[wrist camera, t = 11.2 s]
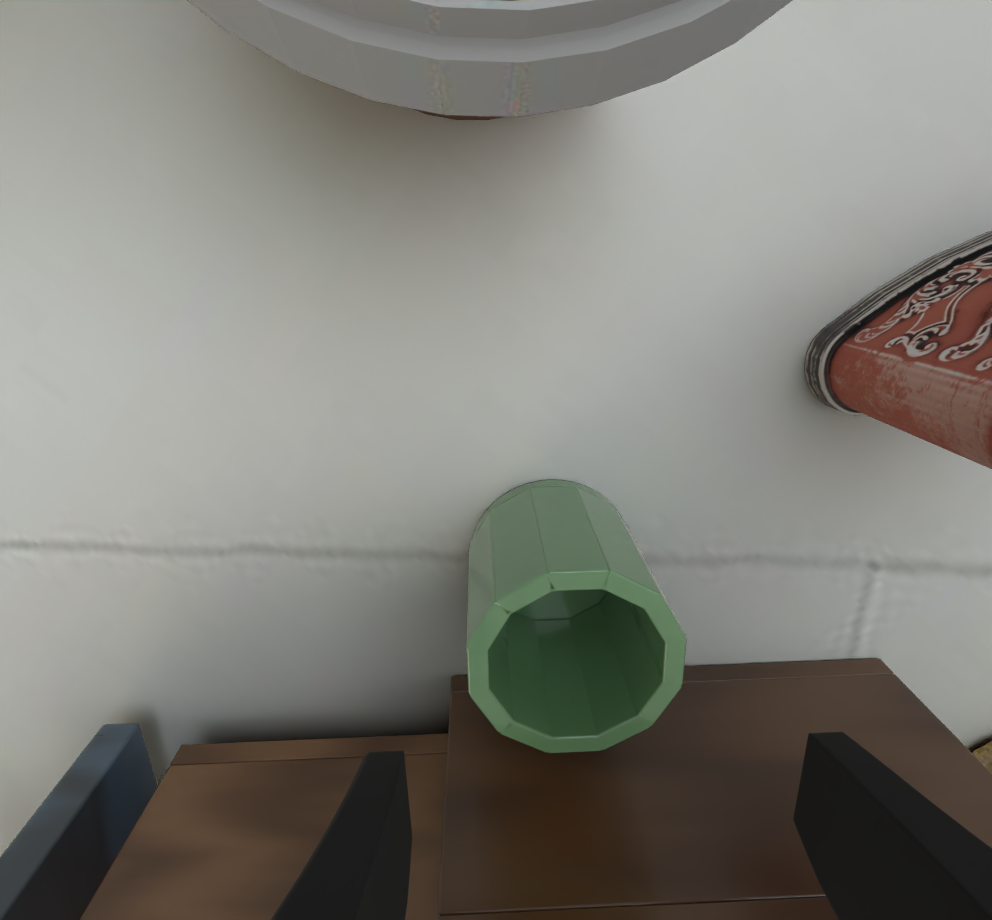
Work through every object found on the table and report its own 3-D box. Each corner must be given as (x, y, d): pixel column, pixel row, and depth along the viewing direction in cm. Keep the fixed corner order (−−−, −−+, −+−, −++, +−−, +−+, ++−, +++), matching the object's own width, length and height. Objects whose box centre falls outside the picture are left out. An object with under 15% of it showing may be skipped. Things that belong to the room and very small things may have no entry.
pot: (625, 618, 20) (677, 749, 15) (473, 624, 20) (471, 758, 15) (633, 475, 18) (694, 566, 13) (466, 481, 18) (462, 575, 13)
